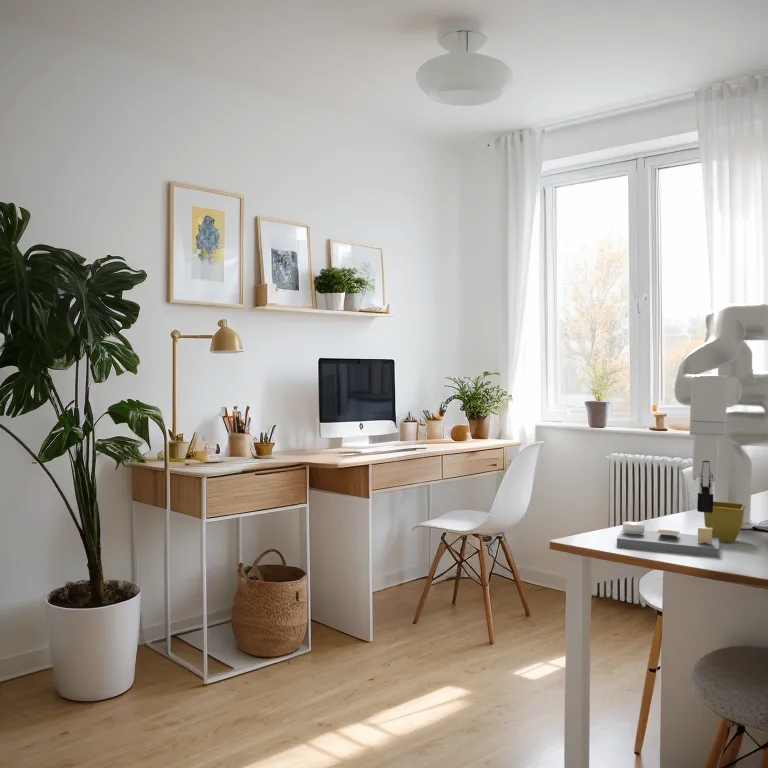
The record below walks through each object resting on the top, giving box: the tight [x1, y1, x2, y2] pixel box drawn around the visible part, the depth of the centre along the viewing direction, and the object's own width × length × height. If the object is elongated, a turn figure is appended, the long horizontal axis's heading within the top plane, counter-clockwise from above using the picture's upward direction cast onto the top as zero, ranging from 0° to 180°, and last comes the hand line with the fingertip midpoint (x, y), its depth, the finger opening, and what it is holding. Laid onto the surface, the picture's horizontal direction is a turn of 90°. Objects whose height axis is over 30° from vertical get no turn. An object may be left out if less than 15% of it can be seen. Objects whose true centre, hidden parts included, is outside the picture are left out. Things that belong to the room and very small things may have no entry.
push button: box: [622, 521, 646, 534], centre depth 186 cm, size 5×5×2 cm
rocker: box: [657, 528, 680, 535], centre depth 183 cm, size 6×4×1 cm
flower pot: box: [703, 501, 745, 544], centre depth 191 cm, size 9×9×9 cm
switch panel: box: [616, 529, 720, 559], centre depth 183 cm, size 14×22×3 cm, turn 66°
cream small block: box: [697, 526, 712, 543], centre depth 178 cm, size 2×3×3 cm, turn 66°
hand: (705, 511), depth 172 cm, fingers closed
